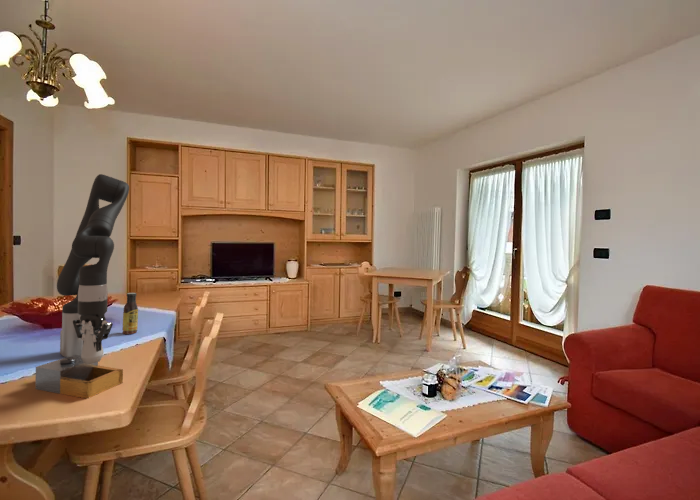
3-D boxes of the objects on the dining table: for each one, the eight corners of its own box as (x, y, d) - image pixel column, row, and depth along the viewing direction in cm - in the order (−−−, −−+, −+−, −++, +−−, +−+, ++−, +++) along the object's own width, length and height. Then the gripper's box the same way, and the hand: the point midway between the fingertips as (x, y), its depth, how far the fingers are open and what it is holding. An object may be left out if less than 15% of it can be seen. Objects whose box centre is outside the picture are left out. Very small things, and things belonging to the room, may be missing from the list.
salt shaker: (89, 358, 112) (89, 318, 111) (107, 358, 112) (108, 319, 112) (76, 364, 106) (76, 323, 106) (96, 365, 107) (96, 323, 106)
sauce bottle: (130, 335, 165) (130, 294, 165) (119, 334, 166) (119, 293, 166) (140, 332, 172) (141, 292, 171) (130, 330, 173) (131, 291, 172)
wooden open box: (25, 387, 108) (26, 362, 108) (65, 373, 119) (66, 350, 119) (87, 398, 102) (87, 372, 102) (122, 382, 114) (123, 359, 113)
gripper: (63, 298, 107) (62, 353, 107) (99, 302, 103) (98, 358, 104) (87, 295, 114) (86, 346, 114) (121, 298, 111) (120, 351, 111)
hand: (92, 351), depth 109 cm, fingers closed on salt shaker, 3 cm apart
